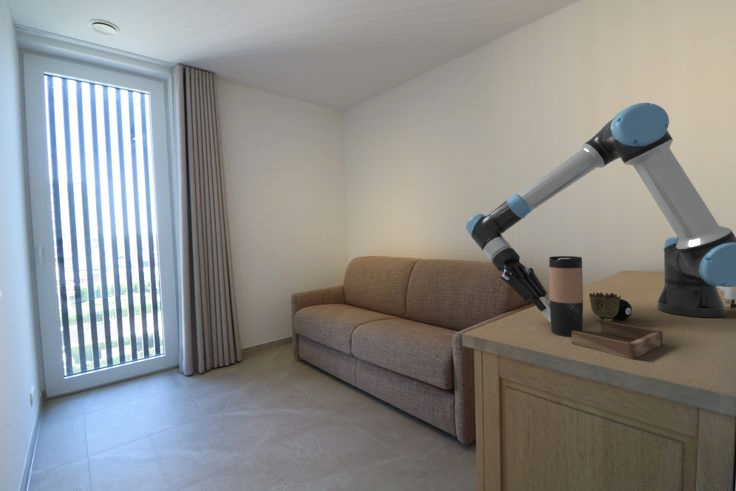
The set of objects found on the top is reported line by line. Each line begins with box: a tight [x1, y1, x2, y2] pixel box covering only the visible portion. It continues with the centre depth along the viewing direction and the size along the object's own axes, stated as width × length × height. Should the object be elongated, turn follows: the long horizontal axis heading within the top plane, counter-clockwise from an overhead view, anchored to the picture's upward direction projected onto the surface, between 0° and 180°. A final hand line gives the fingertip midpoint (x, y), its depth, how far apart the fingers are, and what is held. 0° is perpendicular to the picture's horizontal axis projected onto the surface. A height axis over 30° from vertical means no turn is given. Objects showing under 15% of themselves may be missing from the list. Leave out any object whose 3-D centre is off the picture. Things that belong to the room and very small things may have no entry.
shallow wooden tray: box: [571, 321, 663, 360], centre depth 81 cm, size 15×12×3 cm
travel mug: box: [548, 255, 584, 338], centre depth 90 cm, size 8×8×20 cm
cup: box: [588, 292, 622, 323], centre depth 99 cm, size 8×7×8 cm
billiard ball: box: [612, 298, 633, 321], centre depth 101 cm, size 6×6×6 cm
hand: (554, 319), depth 93 cm, fingers closed
